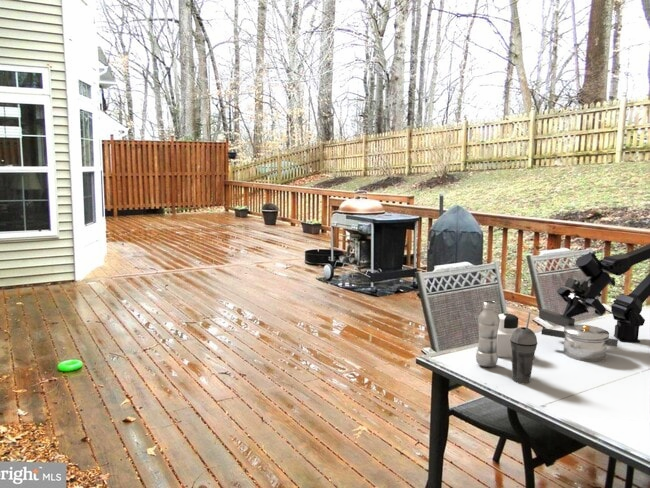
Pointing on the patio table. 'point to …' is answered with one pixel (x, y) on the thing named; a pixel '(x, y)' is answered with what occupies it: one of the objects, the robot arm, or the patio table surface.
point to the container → (506, 334)
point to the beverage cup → (523, 353)
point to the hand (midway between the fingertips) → (563, 318)
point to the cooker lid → (574, 326)
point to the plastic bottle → (488, 335)
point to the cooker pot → (582, 346)
